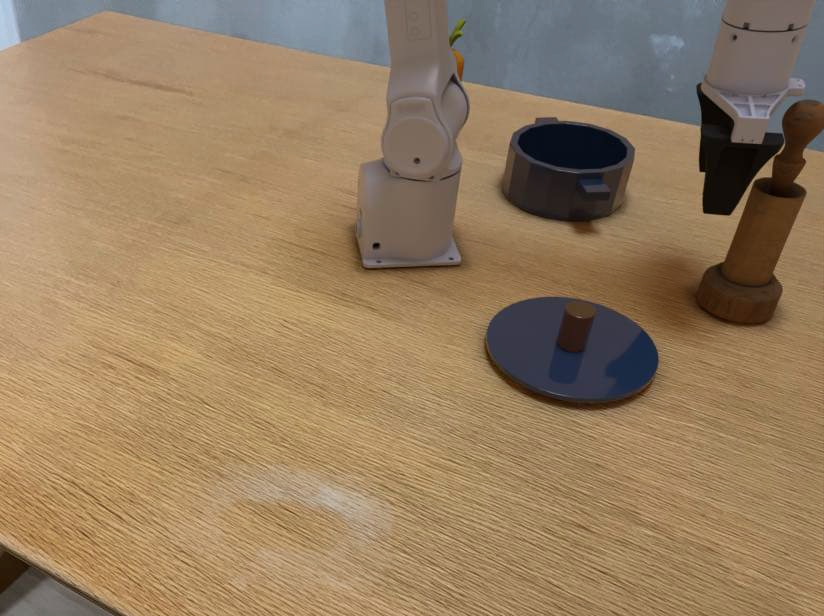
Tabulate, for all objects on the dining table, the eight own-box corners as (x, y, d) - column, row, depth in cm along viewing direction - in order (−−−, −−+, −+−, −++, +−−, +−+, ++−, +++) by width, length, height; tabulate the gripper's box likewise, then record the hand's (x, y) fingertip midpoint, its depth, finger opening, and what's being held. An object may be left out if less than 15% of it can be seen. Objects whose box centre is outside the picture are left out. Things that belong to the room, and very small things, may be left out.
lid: (507, 413, 64) (518, 367, 61) (468, 309, 74) (476, 265, 71) (682, 405, 64) (702, 359, 61) (619, 303, 74) (633, 259, 71)
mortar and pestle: (782, 327, 71) (873, 119, 59) (702, 320, 72) (776, 115, 60) (764, 287, 76) (844, 89, 64) (689, 281, 77) (755, 85, 65)
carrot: (451, 140, 100) (469, 9, 90) (454, 158, 96) (472, 23, 86) (410, 138, 101) (423, 8, 90) (411, 156, 97) (424, 22, 87)
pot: (526, 236, 83) (536, 187, 79) (484, 157, 96) (492, 112, 93) (649, 232, 83) (664, 183, 80) (590, 154, 97) (601, 109, 93)
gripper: (842, 55, 54) (775, 238, 63) (812, -8, 64) (759, 158, 73) (724, 51, 56) (676, 229, 65) (713, -9, 66) (673, 152, 75)
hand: (713, 191), depth 69 cm, fingers open, 7 cm apart
